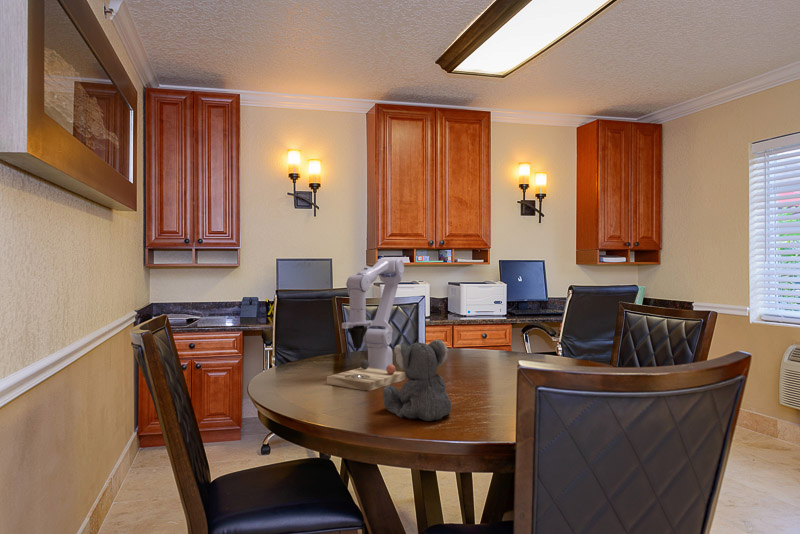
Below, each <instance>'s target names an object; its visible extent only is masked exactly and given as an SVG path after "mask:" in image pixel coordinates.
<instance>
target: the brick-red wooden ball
mask: <svg viewBox="0 0 800 534" xmlns="http://www.w3.org/2000/svg"><path fill="white" fill-rule="evenodd" d="M386 371H387V373H389V374H393V373H394V372H395V371H397V370H396V366H395V365H394V364H393V363H392V364H390V365H388V366H387V368H386Z"/></svg>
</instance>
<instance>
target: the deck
mask: <svg viewBox="0 0 800 534" xmlns="http://www.w3.org/2000/svg"><path fill="white" fill-rule="evenodd" d="M355 375H361V376H362V378H353V377H354V376H355ZM405 380H406V375H405V371H399V370H398V371H397V370H395V372H394V373H393V374H389V373H387V371H386V370H385V369H377V368H370V367H368V368H366V369H363V368H361V367H358V368H354V369H350V370H345V371H343V372H339V373H335V374H331V375H328V376H326V385H332V386H338V387H343V388H349V389H356V390H363V391H366V390H367V392H370V391H373V390H376V389H377V390H378V389H380V388H383V387H384V388H385V386H388V385H389V386H391V385H393V384H396V383H399V382H402V381H405Z"/></svg>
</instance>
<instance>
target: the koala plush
mask: <svg viewBox="0 0 800 534" xmlns="http://www.w3.org/2000/svg"><path fill="white" fill-rule="evenodd" d="M393 350H394V354H395V362H396V364H397V365H398V366H399V368H400V369H401V370H403V372H405V378H407V380H406V381H405V382H404V383H403V385H401V387H400V390H399V389H398V388H397V387H396V386H394V385H387V386H384V388H383V389H382V399H383V405H384V408H385V410H386V411H388V412H389V413H391V414H394V415H396V416H397V417H399V418H407V419H409V420H414V419H420V420H422V421H426V422H431V421H439V420H441V419H442V418H443V417H446V416H448V415H449V414H450V413H451V411H452V402H451V400H450V397H449V395H448V394H447V392H446V388H447V387H446V384H445V381H444V378H443V377H442V376H441V375H440V374H438V373H437V372H438V368H439V367H441V366H442V365H443V363H445V362H446V360H447V359H448V356H449V355H448V352H450V350H449V349H448V347H447V344H445V342H444V341H443V340H441V339H440V338H437V339H435V340H432V341H430V343H428V344H426V343H425V342H414V343H412V344H410V345H408V346H407V345H406V344H403V343H402V344H401V343H400V344H396V345H395V346H394V349H393Z"/></svg>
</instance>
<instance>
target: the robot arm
mask: <svg viewBox="0 0 800 534" xmlns="http://www.w3.org/2000/svg"><path fill="white" fill-rule="evenodd" d="M404 272H405V264H404V260H403V259H402V258H400V257H398V258H378V259H376V262H375V264H374V265H373V266H371V267H370V266H364V267H363V270H361V271H358V272H357V273H356V274H352V275H350V276H349V277H348V278H347V280H346V283H345V285H346V289H347V295H348V296H349V317H348V319H349V320H347V321H345V322H342V323H341V329H346V330H347V332H348V333H349V335H350V338H351V340H352V344H353V348H354V349H361V348H362V344H363V342H364V344H365V346H366V347H367V361H368V362H369V367H370V368H377V369H385V370H386V368H387V366H388V365H390V364H392V365H393V350H392V347H390V345H391V343H392V340H393V332H394V331H393V327H392V325H390V323H389V320H390V315H391V313H392V311H393V310H392V309H393V306H394V302H395V297H396V295H397V290H398V287H399V283H400V282H402V280H403V276H404ZM378 276H379V279H380V281H381V282H382V283H383V284H384V286H383V290H382V293H381V298H380V300H379V304H378V307H377V311H376V313H375V314H376V315H375V318H374V319H373V320H370V319H367V314H366V313H367V312H366V309H367V307H366V306H367V304H366V303H367V302H366V301H367V291H368V290H369V288H370V286H371V285H372V284H373V283H374V282H375V281H377V279H378Z"/></svg>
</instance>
